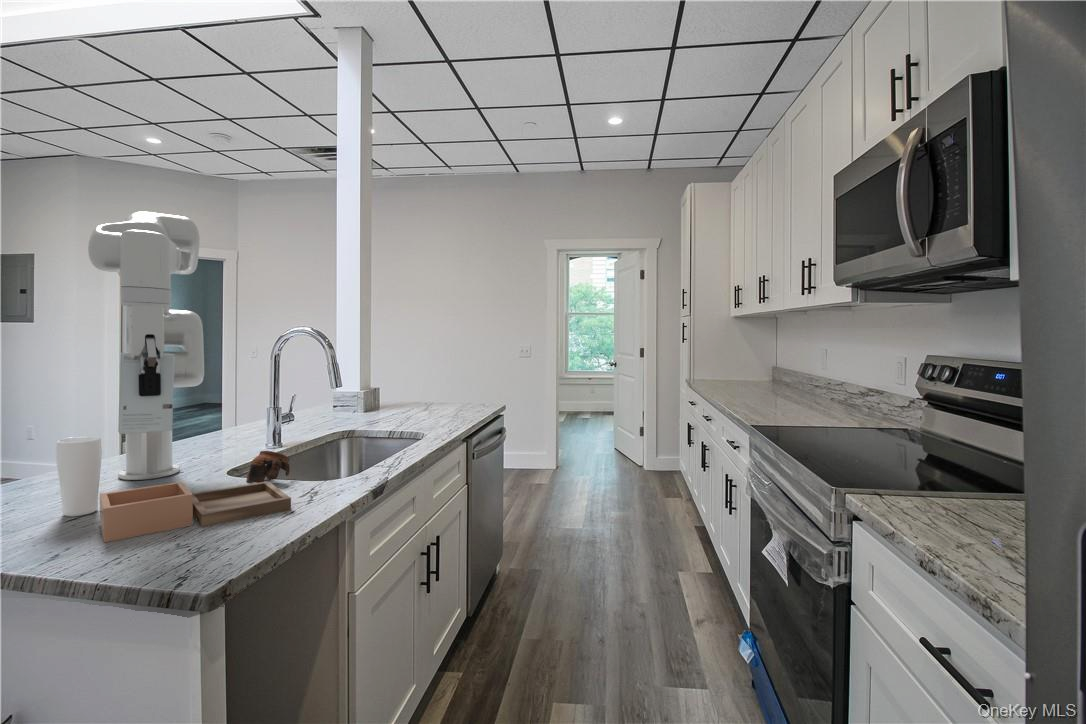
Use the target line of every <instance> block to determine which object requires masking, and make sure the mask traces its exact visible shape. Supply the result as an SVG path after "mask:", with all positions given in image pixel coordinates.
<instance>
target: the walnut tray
mask: <svg viewBox="0 0 1086 724" xmlns="http://www.w3.org/2000/svg"><path fill="white" fill-rule="evenodd" d="M191 493H192V494H193V518H194V519H195V520H196V522H197V523H198V525H199V526H200V528H207V527H211V526H212V527H213V526H217V525H221V524H226V522H227V523H231V522H237V521H240V520H246V519H252V518H256V517H261V516H266V515H267V516H268V515H271V514H277V513H281V512H285V511H286V512H287V511H291V510H292V497H290V496H289V495H288V494H286V493H285V492H284V491H282V490H281V489H279V488H278V487H277V486H275V484H273V483H272V482H271V481H270V480H269V481H268V480H267V481H266V480H265V481H264V482H260V483H255V482H253V483H250V484H249V483H248V484H243V485H236V486H230V487H225V488H224V487H223V488H217V489H212V490H206V491H199V492H194V493H193V492H191Z"/></svg>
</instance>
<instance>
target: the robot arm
mask: <svg viewBox="0 0 1086 724" xmlns="http://www.w3.org/2000/svg"><path fill="white" fill-rule="evenodd" d="M200 239H201V238H200V231H199V228H198V226H197V224H196V223H195V222H194V221H193V220H192V219H191V218H188V217H186V216H180V215H175V214H174V215H173V214H166V213H157V212H152V211H150V212H149V211H137V212H134V213H130V214H129V215H128V216H127V217H126V218H125V220H124V221H122V222H113V223H105V224H103V223H102V224H100V225H97V226H96V227H95V228H94V229H93V230H92V232H91V235H90V237H89V241H88V244H87V245H88V249H87V251H88V257H89V261H90V262H91V264H92V265H93V266H94V267H95V268H96V269H97V270H99V271H103V272H108V273H109V272H110V273H117V274H118V276H119V284H120V286H119V287H120V292H119V293H120V299H119V300H120V306H126V352H127V353H129V357H130V358H131V359H135V356H140V373H141V374H139V395H140V396H159V395H160V394H161V374H160V369H159V359H160V358H162V357H163V354H164V353H169V354H174V388H189V387H191V388H192V387H197V386H199V385H201V384H202V383H203V381H204V378H205V352H204V351H205V349H204V347H205V346H204V345H205V344H204V330H203V329H204V328H203V322H202V318H201V317H200V316H199V314H198V313H196V312H194V311H191V310H185V309H184V310H182V309H181V310H179V309H170V308H171V307H172V291H171V290H172V288H171V287H172V280H171V278H172V277H171V275H192V274H193V273H194V272H195V271H196V269H197V268H198V264H199V252H200V246H201V243H200ZM165 347H180V348H181V349H182V350H165ZM158 353H160V355H158ZM143 355H147V357H143ZM159 356H160V357H159ZM144 365H145V367H144ZM180 470H181V466H180V465H179V464H176V463H173V430H172V431H157V432H145V433H131V434H125V468H124V469H122V470H119V472H118V473H117V477H118V479H120V480H121V479H122V480H126V481H141V480H152V479H158V478H159V479H160V478H163V477H168V476H172V475H174V474H177V473H179V472H180Z"/></svg>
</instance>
